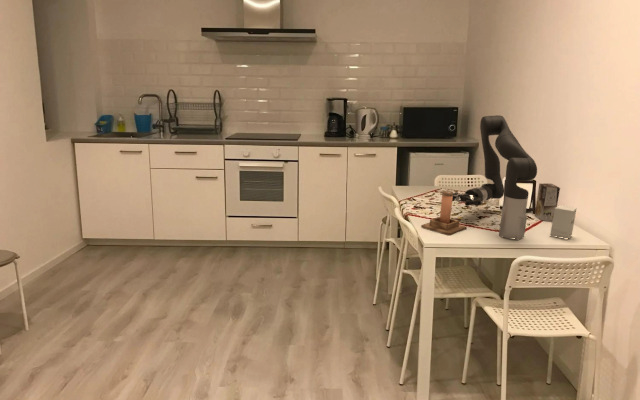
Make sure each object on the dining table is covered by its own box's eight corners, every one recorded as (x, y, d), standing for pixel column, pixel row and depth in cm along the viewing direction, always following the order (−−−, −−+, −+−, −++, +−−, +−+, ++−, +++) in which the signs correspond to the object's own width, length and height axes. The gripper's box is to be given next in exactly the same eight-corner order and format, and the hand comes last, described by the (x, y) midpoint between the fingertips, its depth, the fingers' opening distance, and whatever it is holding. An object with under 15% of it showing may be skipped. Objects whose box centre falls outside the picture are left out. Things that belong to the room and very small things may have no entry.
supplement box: (568, 240, 216) (573, 211, 213) (549, 236, 220) (554, 207, 217) (572, 236, 222) (577, 207, 218) (553, 232, 226) (558, 204, 223)
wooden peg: (451, 226, 225) (455, 192, 221) (446, 228, 222) (449, 193, 218) (442, 223, 228) (446, 190, 224) (436, 225, 225) (440, 191, 221)
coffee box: (555, 221, 242) (560, 187, 238) (541, 220, 243) (546, 187, 238) (547, 215, 251) (552, 183, 247) (534, 215, 251) (538, 182, 247)
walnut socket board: (466, 229, 225) (467, 221, 224) (449, 235, 216) (450, 227, 215) (438, 221, 235) (439, 214, 234) (421, 227, 225) (421, 219, 224)
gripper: (462, 185, 244) (444, 190, 233) (491, 191, 234) (473, 196, 223) (461, 200, 246) (442, 206, 235) (489, 207, 236) (471, 213, 225)
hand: (457, 201), depth 229 cm, fingers open, 8 cm apart
